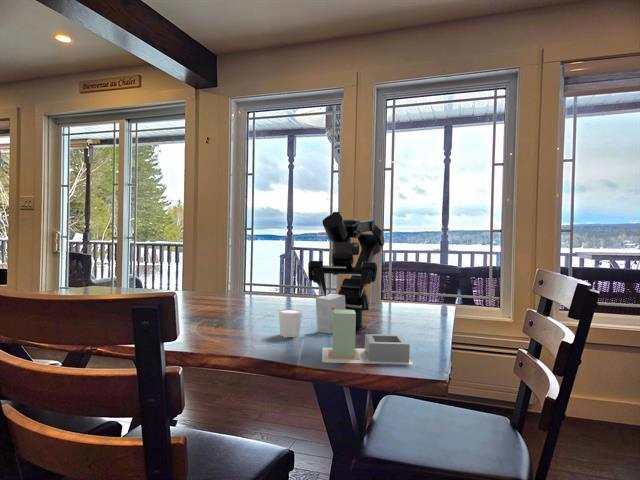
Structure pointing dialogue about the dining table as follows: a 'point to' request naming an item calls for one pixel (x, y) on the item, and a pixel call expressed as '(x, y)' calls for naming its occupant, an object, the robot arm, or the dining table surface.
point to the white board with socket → (375, 351)
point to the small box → (328, 311)
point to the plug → (344, 333)
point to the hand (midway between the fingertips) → (342, 295)
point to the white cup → (290, 323)
